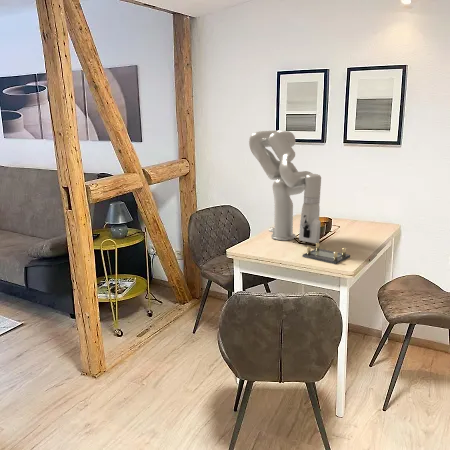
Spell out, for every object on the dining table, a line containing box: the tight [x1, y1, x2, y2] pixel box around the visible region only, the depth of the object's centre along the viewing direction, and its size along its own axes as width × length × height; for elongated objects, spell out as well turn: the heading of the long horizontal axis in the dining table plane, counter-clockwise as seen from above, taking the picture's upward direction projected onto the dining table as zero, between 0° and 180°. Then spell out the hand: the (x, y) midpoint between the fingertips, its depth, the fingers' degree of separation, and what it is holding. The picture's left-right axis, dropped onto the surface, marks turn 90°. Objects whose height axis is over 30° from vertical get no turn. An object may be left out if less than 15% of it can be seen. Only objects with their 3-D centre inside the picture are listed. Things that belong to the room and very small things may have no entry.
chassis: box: [302, 242, 351, 265], centre depth 214 cm, size 17×13×4 cm
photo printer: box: [298, 218, 322, 245], centre depth 230 cm, size 10×4×12 cm, turn 56°
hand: (309, 235), depth 231 cm, fingers closed on photo printer, 4 cm apart
